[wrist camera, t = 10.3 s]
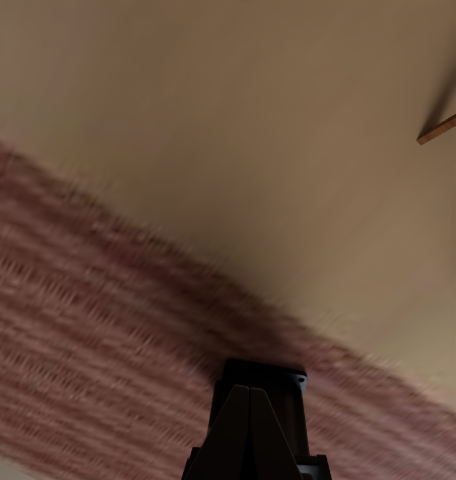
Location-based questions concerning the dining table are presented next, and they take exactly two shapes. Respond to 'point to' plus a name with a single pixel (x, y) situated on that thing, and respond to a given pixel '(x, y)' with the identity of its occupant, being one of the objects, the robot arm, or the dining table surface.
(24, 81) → the dining table surface
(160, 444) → the dining table surface
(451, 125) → the glasses
